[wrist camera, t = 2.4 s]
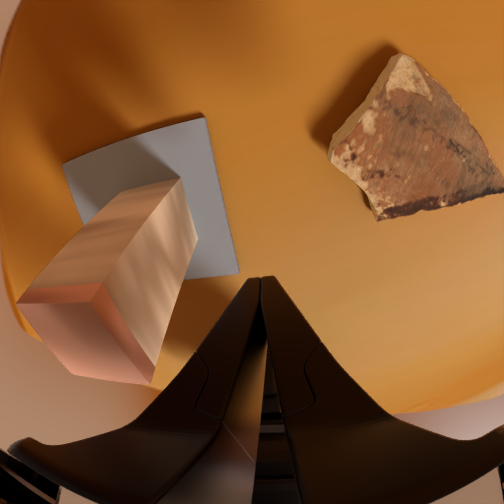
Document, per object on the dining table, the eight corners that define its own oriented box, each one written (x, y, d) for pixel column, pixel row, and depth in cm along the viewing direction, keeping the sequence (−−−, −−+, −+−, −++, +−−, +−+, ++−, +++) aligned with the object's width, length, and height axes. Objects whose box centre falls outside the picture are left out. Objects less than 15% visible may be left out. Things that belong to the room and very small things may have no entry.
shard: (496, 181, 14) (513, 192, 12) (431, 265, 18) (443, 281, 17) (392, 49, 11) (410, 45, 9) (306, 165, 15) (313, 176, 13)
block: (198, 238, 17) (150, 384, 8) (141, 247, 17) (72, 374, 9) (181, 177, 14) (90, 301, 6) (121, 191, 15) (15, 303, 7)
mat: (239, 270, 18) (239, 273, 18) (115, 283, 19) (113, 286, 19) (205, 116, 13) (204, 117, 13) (64, 162, 14) (61, 164, 14)
